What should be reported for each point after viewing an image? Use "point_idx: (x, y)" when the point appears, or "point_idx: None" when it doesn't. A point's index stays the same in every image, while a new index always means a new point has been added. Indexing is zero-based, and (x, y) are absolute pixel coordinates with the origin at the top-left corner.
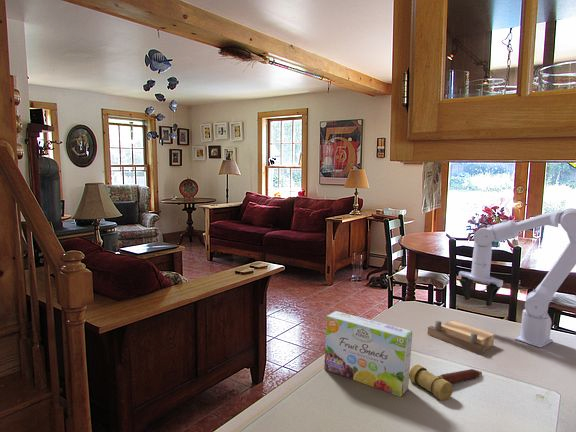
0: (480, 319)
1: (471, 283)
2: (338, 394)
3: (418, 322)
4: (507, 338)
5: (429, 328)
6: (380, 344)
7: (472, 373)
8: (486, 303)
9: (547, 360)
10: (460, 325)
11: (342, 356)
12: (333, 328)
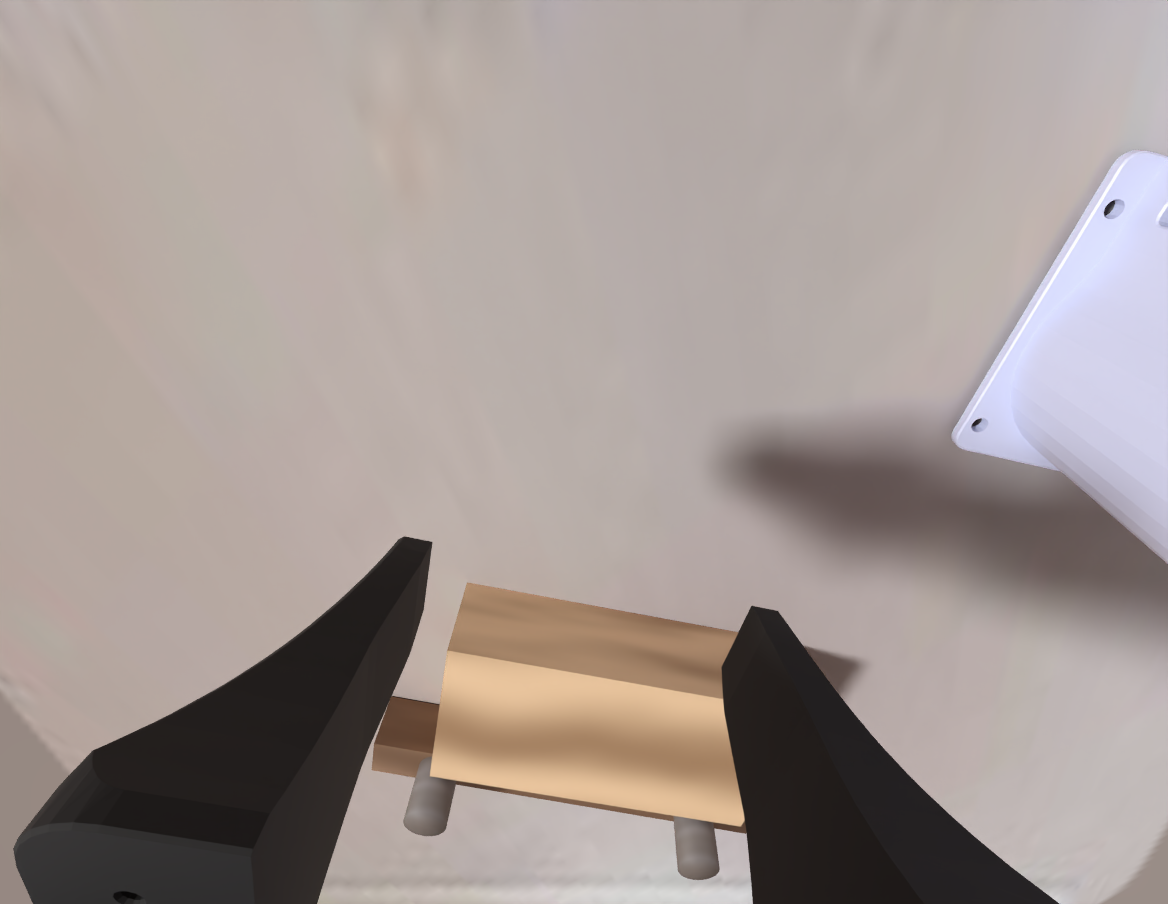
0: (543, 21)
1: (319, 762)
2: None
3: (204, 587)
4: (886, 449)
5: (386, 765)
6: None
7: None
8: (727, 703)
9: (1133, 651)
10: (543, 704)
11: None
12: None
